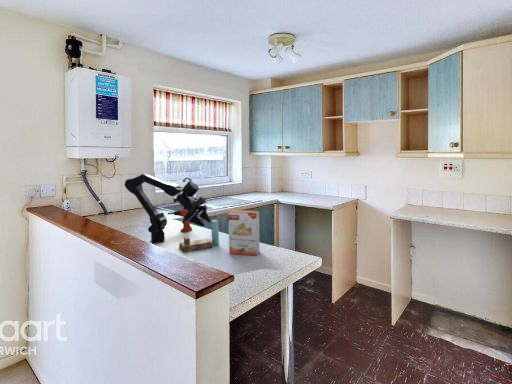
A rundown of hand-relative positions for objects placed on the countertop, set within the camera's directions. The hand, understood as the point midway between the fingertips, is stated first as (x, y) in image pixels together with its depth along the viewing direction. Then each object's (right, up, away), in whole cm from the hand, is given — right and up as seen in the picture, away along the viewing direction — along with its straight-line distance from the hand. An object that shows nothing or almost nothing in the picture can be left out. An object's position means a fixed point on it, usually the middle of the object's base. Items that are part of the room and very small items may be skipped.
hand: (207, 223), depth 171 cm
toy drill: (-20, -8, +26) cm, 34 cm away
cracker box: (+20, -13, -14) cm, 28 cm away
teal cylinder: (+4, -11, +1) cm, 12 cm away
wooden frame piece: (-5, -12, -4) cm, 14 cm away
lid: (-5, -9, -4) cm, 12 cm away
